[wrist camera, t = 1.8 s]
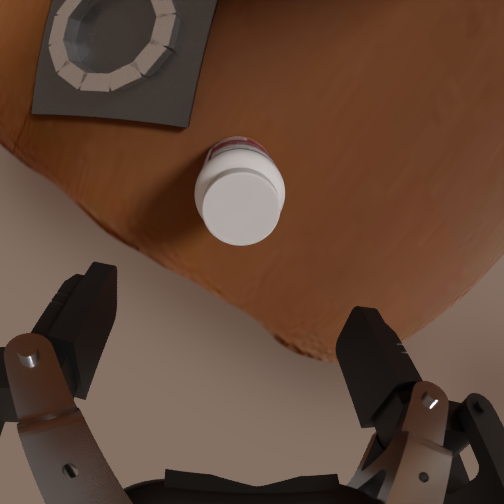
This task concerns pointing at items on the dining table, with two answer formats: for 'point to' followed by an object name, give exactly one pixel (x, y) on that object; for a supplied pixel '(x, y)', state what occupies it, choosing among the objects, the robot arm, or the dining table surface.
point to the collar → (123, 59)
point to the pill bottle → (239, 191)
